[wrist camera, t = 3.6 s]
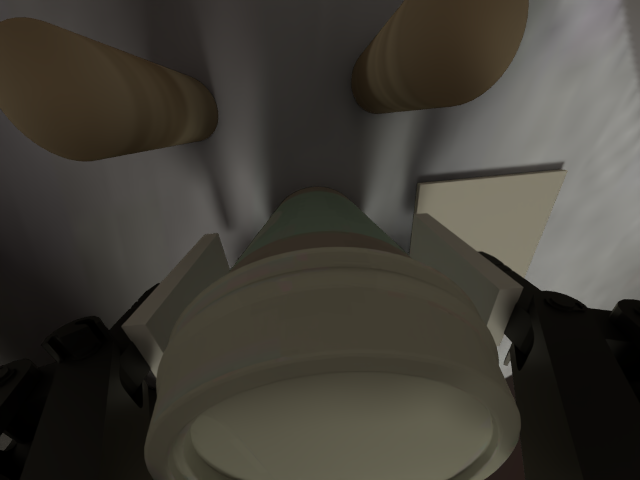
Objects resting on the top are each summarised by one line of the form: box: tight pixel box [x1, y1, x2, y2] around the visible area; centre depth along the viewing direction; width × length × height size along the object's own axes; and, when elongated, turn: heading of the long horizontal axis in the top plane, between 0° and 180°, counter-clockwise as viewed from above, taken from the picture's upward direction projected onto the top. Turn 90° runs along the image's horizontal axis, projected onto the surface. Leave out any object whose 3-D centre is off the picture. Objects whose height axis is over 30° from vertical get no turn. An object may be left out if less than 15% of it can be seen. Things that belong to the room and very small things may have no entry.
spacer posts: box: [0, 0, 529, 161], centre depth 12 cm, size 14×20×7 cm
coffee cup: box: [144, 187, 521, 480], centre depth 10 cm, size 8×9×12 cm
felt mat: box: [409, 169, 567, 278], centre depth 16 cm, size 9×9×1 cm
